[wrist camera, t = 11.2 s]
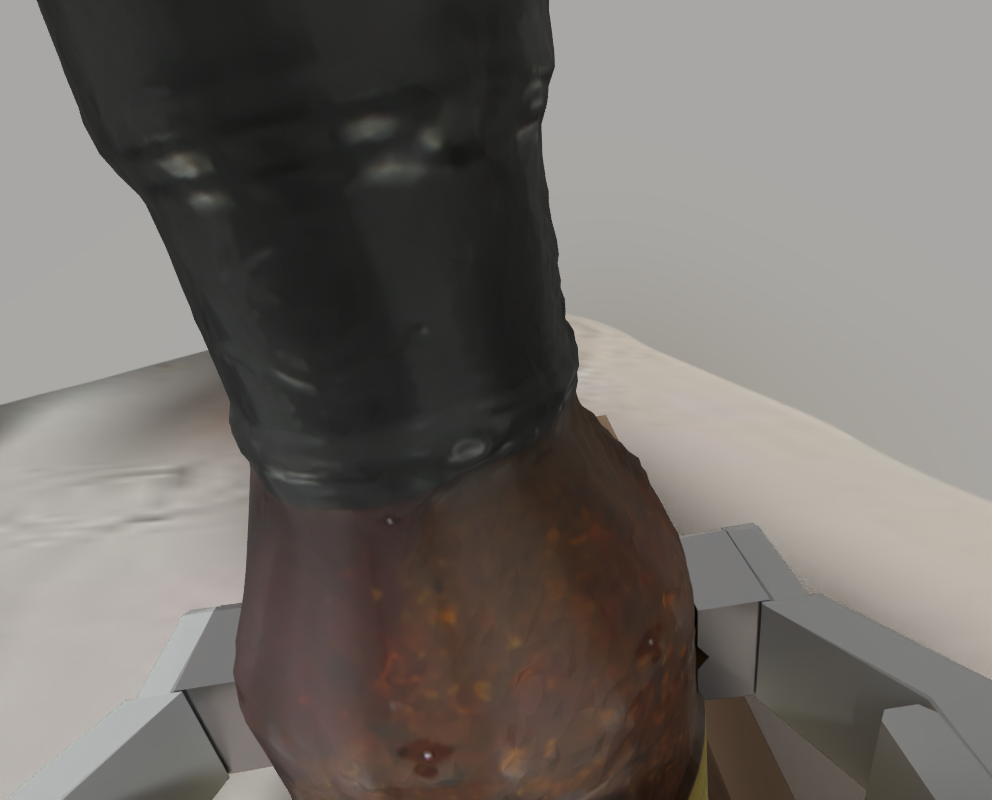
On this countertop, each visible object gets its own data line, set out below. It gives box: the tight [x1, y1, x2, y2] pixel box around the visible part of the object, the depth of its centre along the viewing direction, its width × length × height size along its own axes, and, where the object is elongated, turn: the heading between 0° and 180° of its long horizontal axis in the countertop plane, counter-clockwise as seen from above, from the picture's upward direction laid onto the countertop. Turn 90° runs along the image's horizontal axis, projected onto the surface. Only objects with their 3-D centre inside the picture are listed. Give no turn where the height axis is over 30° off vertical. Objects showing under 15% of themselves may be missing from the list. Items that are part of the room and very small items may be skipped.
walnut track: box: [596, 415, 795, 800], centre depth 20 cm, size 13×30×6 cm, turn 3°
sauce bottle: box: [37, 0, 708, 800], centre depth 9 cm, size 6×6×20 cm
